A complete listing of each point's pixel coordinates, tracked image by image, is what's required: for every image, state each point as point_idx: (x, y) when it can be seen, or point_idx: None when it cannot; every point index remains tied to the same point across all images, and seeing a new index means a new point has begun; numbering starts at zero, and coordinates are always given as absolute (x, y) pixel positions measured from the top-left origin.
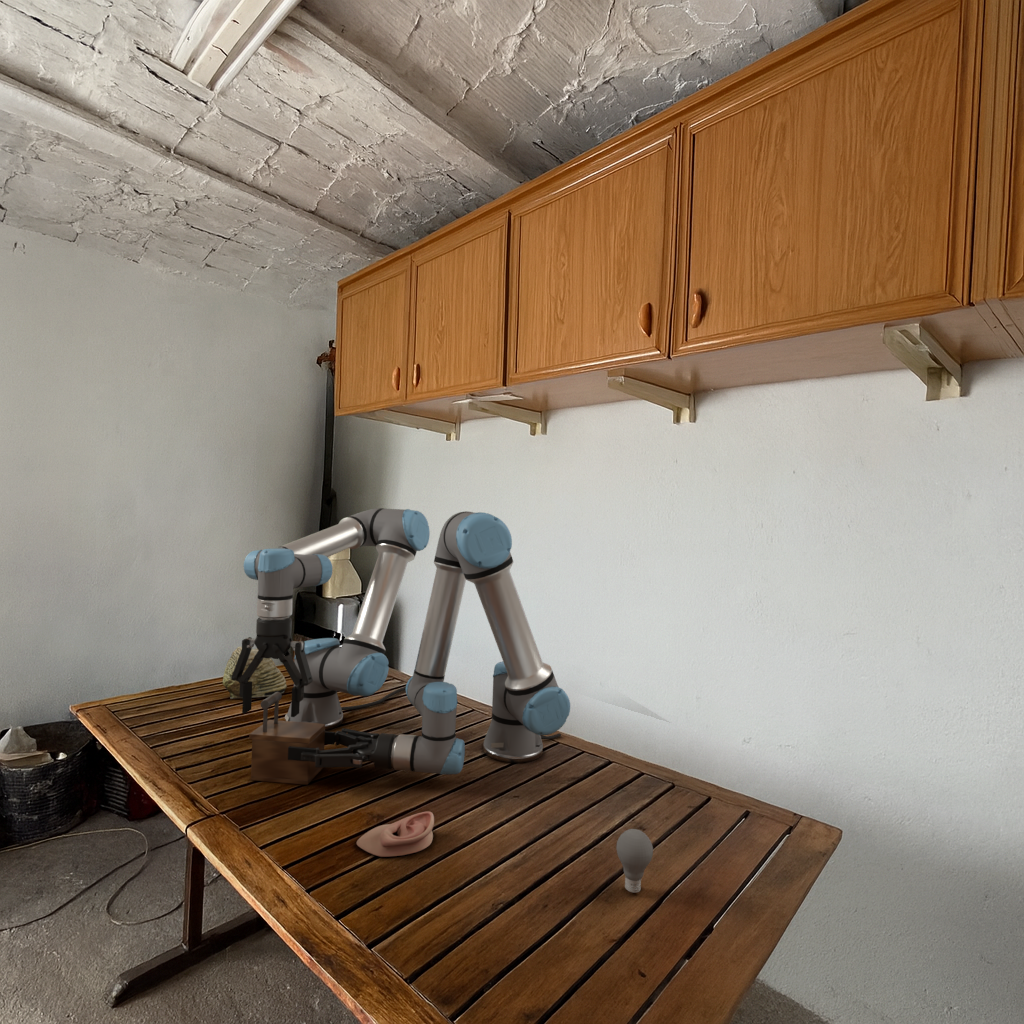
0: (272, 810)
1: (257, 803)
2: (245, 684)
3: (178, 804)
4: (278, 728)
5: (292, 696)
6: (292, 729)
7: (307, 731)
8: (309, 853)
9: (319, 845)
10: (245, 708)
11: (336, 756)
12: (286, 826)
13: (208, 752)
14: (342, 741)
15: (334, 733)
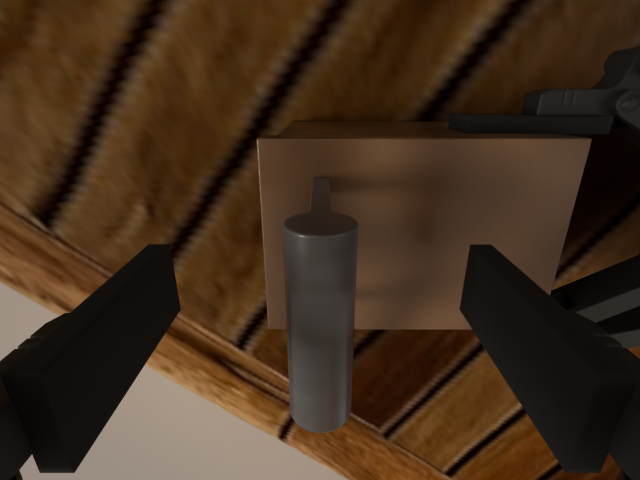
0: (419, 372)
1: (373, 351)
2: (54, 463)
3: (202, 380)
4: (365, 250)
5: (527, 404)
6: (436, 248)
7: (517, 260)
8: (537, 476)
9: (550, 457)
10: (168, 326)
11: (633, 345)
12: (471, 417)
13: (23, 71)
14: (627, 134)
15: (608, 123)
